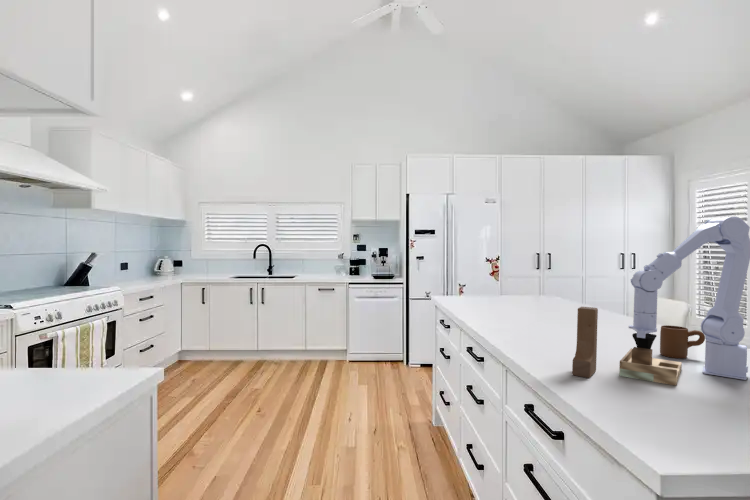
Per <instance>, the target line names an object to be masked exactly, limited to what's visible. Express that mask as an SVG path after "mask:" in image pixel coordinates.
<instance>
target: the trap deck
mask: <svg viewBox="0 0 750 500" xmlns="http://www.w3.org/2000/svg"><path fill="white" fill-rule="evenodd" d="M632 349H633V348H630V349H629V351H628V352H626V354H625V355H624V356H623V357H622V358H621V359H620V360H619V373H618V375H619V377H624V378H630V379H637V380H641V381H647V382H653V383H659V384H664V385H671V386H675V387H676V386H678V381H679V378H680V375H681V372H682V367H683V363H682V361H675V360H667V359H661V358H654V357H652V366H650V365H644V364H638V363H631V360H632Z"/></svg>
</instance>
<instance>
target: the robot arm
mask: <svg viewBox="0 0 750 500" xmlns="http://www.w3.org/2000/svg"><path fill="white" fill-rule="evenodd" d="M749 232H750V226H749V224H748V223H747V222H745V221H744V219H742V218H741V217H739V216H728V217H721V218H715V217H714V218H709V219H707V220H706V221H705V222H704V223H702V224H701V225H700V224H699V225H698V226H697V228H696V230H694V231H693V232H692V233H691V234H690V235H689V236H687V237H686V239H684V240H683V241H682V242H681V243H680V244H679V245H678V246H676V248H675V249H673V250H672V251H664V252H663V253H662V252H661V253H658V254H657V255H656V258H655V259H654V260H653V261H651V262H650V263H649V264H646V265H644V266H643V270H642V269H641V270H638V271H636V272H635V273H634V274H633V275H632V278H631V279H630V283H631V286H632V287H633V288H634V290H633V292H634V295H633V297H634V298H633V322H632V325H628V329H629V330H631V329H632V330H634V332H635V333H632V335H631V336H632V339H633V340H634V342H635V345H636V346H635V347H639V348H646V349H652V347H653V344H654V341H655V339H656V338H657V334H653V333H656V332H658V328H657V320H658V319H657V317H658V316H657V315H658V290H660V289H661V288H662V286H663V282H664V281H665V280H667V278H669V277H670V276H671V275H672V274H674V273H675V272H676V271H678V269H680V268H681V267H682V263H683V260H684V259H686V258H687V257H688V256H690V255H691V254H692V253H694V252H695V251H696V250H698V249H700V248H701V247H702V246H703V245H705V244H707V243H715V244H716V245H718V246H719V247H720V248H721V249H722V250H723V251H724V252H725V257H724V260H723V264H722V265H723V266H722V269H721V273H720V274H721V275H720V278H719V283H718V288H717V293H716V296H715V301H714V305H713V306H712V307H711V308H709V310H708V311H707V312H706V316H705V317H704V318H703V320H702V321H701V323H700V330H701V332H702V333H703V334H704V335H705V346H704V347H705V349H704V350H705V351H704V352H705V353H704V366H702V374H706V375H713V376H719V377H724V378H731V379H738V380H745V381H746V380H747V373H748V372H749V366H748V365H747V364H748V363H747V362H748V347H747V345H744V344H739V343H740V342H742V340H743V339H744V337H745V333H746V332H745V328H744V322H745V319H744V317H743V316H742V314H741V313H740V312H739V310H740V305H741V300H742V296H743V291H744V286H745V283H746V279H747V273H748V269H749V266H750V235H749Z"/></svg>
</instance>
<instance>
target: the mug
mask: <svg viewBox="0 0 750 500" xmlns="http://www.w3.org/2000/svg"><path fill="white" fill-rule="evenodd" d="M659 336H660V337H659V354H660V356H661V355H662V356H663V357H666V358H670V359H671V358H672V359H686V358H688V355H689V353H688V351H689V350H688V349H689V348H691V347H699V346H701V345H702V344H704V342H706V339H705V335H704V334H703V332H702V330H701V331H700V330H696V329H694V330H689V328H687V327H684V326H678V325H666V324H665V325H661V327H660V334H659ZM693 336H699V337H698V339H697V340H689V337H693Z"/></svg>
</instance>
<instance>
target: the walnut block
mask: <svg viewBox="0 0 750 500" xmlns="http://www.w3.org/2000/svg"><path fill="white" fill-rule="evenodd" d="M652 358H653V349H652V348H651V349H646V348H639V347H637V346H633V348H632V360H631V363H638V364H644V365H650V366H652Z"/></svg>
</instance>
